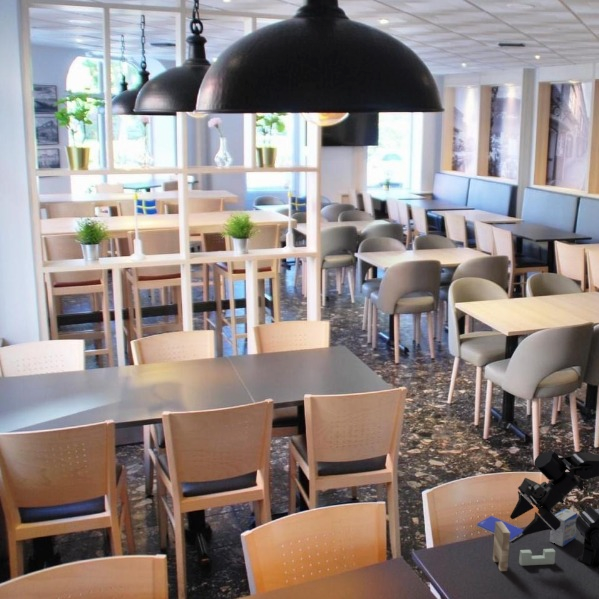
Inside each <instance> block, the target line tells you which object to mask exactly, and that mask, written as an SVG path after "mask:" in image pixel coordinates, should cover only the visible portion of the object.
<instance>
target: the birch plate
mask: <svg viewBox="0 0 599 599" xmlns="http://www.w3.org/2000/svg"><path fill="white" fill-rule="evenodd" d="M502 521H503V520H502ZM502 521H500V522H495V534H493V550H492V561H493V562H494V563H498V570H499V572H507V571H508V564H509V555H510V554H509V553H510V543H511V542H510V532H509V530H508V529H507V527H506V526H505V525H504V523H503V522H502Z"/></svg>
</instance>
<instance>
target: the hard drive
mask: <svg viewBox="0 0 599 599" xmlns="http://www.w3.org/2000/svg"><path fill="white" fill-rule="evenodd" d="M500 521H502V522H503V523H504V525H505V526H506V527H507V529H508V530H509V532H510V542H509V543H511V542H513V541H515V540H516V539H517V538H519V537H521V536H522V535H523V534H522V532H523V530H524V529H522V528H520V527H518V526H515V525H513V524H511V523H508V522H507V521H504V520H503V519H499V518H498V517H495V516H493V515H491V516H489V517H486V518H485V519H483V520H480V521H479V522H477V524H476V528H479V529H481V530H483V531H486V532H487V533H490V534H492V535H494V534H495V522H500ZM523 536H524V535H523Z"/></svg>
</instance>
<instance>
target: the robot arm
mask: <svg viewBox="0 0 599 599" xmlns="http://www.w3.org/2000/svg"><path fill="white" fill-rule="evenodd" d="M533 464H534V467H536V469H537V470H538V471H539V472H540V473H541V474H542V475H543V476H544V477H545V478H546V479H547V480H549V481H548V483H547V481H542V482H541V483H538V482H536V481H535V480H533V479H532V480H531V479H530V478H528V477H524V479H523V480H522V482H521V484H520V485H519V486H518V487H517V489H518V491H517V495H518V500H517V501H516V502H517V503H516V504H515V506H514V508H513V510H512V511H511V514H510V515H509V518H510V519H511V520H515V519H517V518H519V517H520V516H522V515H525V513H527V512H529V511H531V510H533V509H534V508H535V507H536V508H537V510H538V511H537V512H536V511H535V512H534V518H533V519H532V520H531V521H530V523H529V524H528V525H526V527H525V528H524V529H523V532H522V534H523V536H528V535H531V534H532V535H533V534H535V533H538V532H544V531H548V530H552V528H553V529H554V530H555V531H556V530H557V529H558V528H559V527H560V526H561V522H560V521H559V519H558V518H557V517H556V516H555V512H554V510H553V508H554V507H556V506H557V505H558V504H559V503H560V504H562V505H563V504H564V503H565V500H564V498H565V497H566V496H567V495H568V494H570V493H571V492H572V491H573V490H574V489H575V488H576V487H577V488H578V489H580V491H583V490H584V480H585V481H586V480H591V479H594V478H598V477H599V454H596V453H592V452H575V453H573V454H572V455H567V456H562V457H561V456H559V455H558V453H557V452H556V451H555V450H554V449H551V450H549V451H545V452H542V453H539V454H538V455H537V456H536V458H535V459H534V462H533ZM534 506H535V507H534ZM575 524H576V530H577V531H578V532H579V533H580V535H581V536H582V537H583V538H584V540H583V547H582V548H583V550H582V553H581V555H579V556H578V557H577V561H580V562H582V563H584V564H586V565H588V566H590V567H593V568H596V569H599V508H594V507H593V506H591V505H590V506H589V507H587V508H586V509H585V510H583V511H582V512H579V513H578V515H577V519H576V523H575ZM551 527H552V528H551Z"/></svg>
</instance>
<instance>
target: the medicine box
mask: <svg viewBox="0 0 599 599" xmlns="http://www.w3.org/2000/svg"><path fill="white" fill-rule="evenodd" d="M554 515H555V516H556V517H557V518H558V519H559V521H560V522H561V526H560V527H559V528H558V529H557V530H556V531H555V530H554V529H553V528H552V527H551V528H552V530H550V529H549V530H550V532H549V533H550V534H549V542H550V543H553V544H554V543H555V545H557V546H559V547H565V546H566V545H567V544H569V543H570V542H572V541H573V540H575V539H576V535H577V534H576V533H577V528H576V524H575V523H576V519H577V517H578V512H575V511H573V510H571V509H568V508H564V509H562V510H560V511H558V512H557V513H554Z"/></svg>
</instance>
